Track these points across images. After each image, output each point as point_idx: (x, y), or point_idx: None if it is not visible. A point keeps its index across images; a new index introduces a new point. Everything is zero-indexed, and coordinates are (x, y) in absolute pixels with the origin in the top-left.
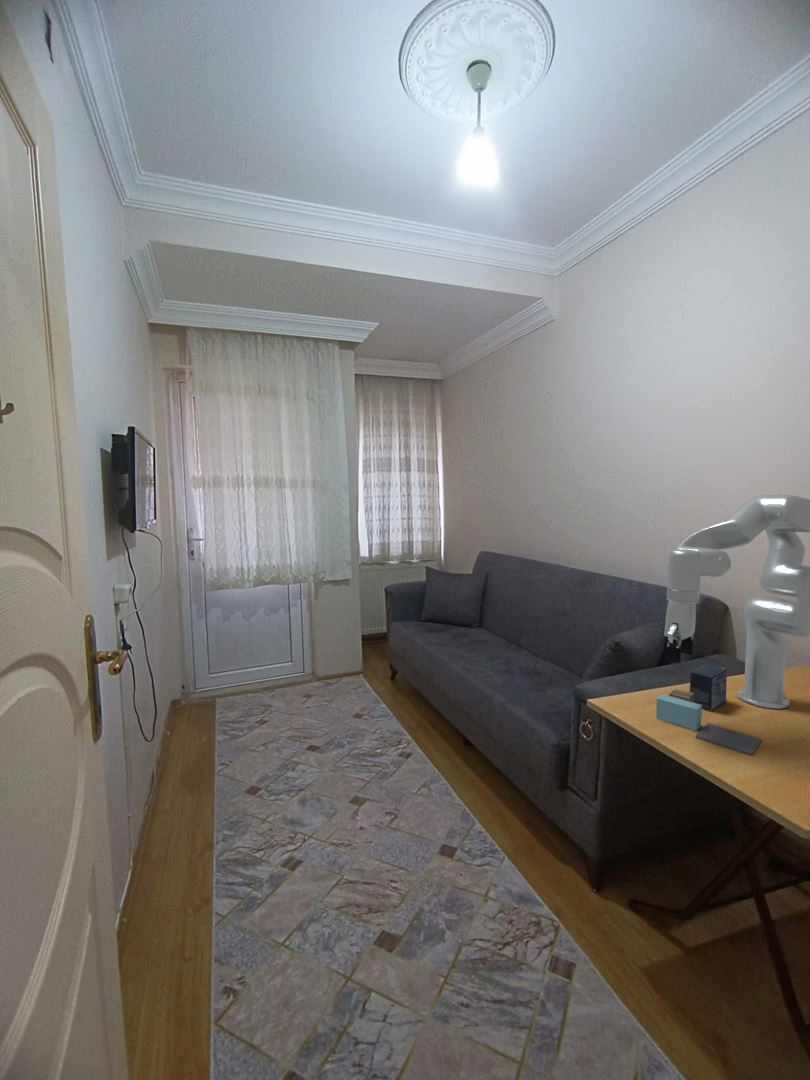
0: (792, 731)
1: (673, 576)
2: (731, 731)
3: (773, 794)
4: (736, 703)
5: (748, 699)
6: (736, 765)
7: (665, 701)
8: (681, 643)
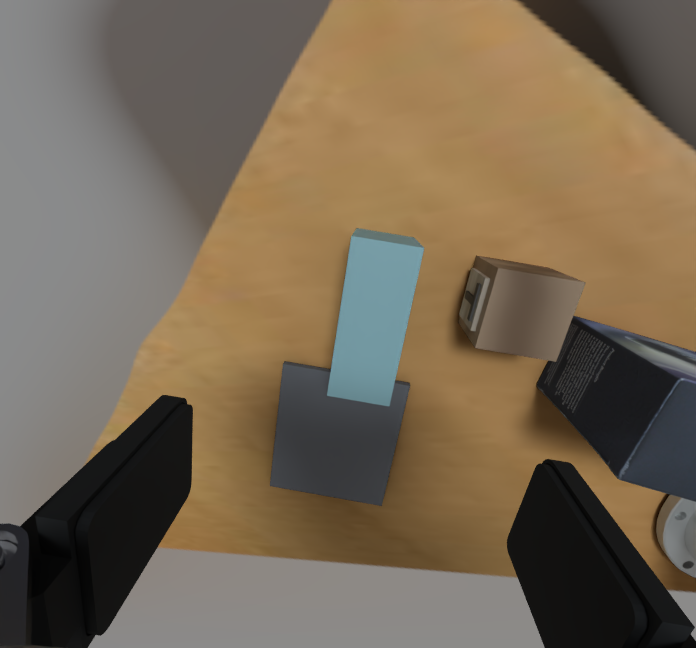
0: (494, 561)
1: None
2: (384, 445)
3: None
4: None
5: None
6: None
7: (346, 275)
8: (591, 567)
